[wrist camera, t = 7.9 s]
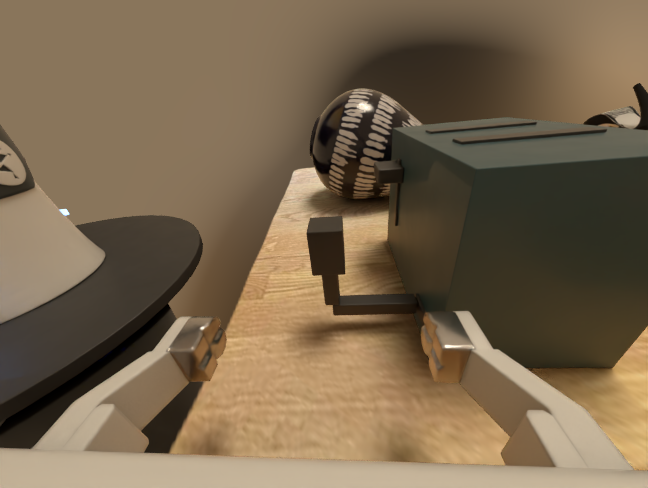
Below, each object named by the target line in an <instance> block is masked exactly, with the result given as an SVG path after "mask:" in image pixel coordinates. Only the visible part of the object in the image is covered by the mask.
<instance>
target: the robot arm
mask: <svg viewBox="0 0 648 488" xmlns="http://www.w3.org/2000/svg"><path fill="white" fill-rule="evenodd" d="M68 214H69V213H68V211H67V210H66V209H62V210H59V209H58V207H57V206H56V205H55V204H54V203H53V202H52V201H51V200H50V199H49V197H47V195H46V194H45V193H44V192H43V190H42V189H41V188H40V187H39V186H38V184H37V183H36V182H35V181H34V179H33V177H32V174H31V172H30V170H29V168H28V166H27V163H26V161H25V158H24V157H23V156H22V154H21V153H20V151H19V150H18V148H17V147H16V146H15V144H14V143H13V141H12V140H11V138H10V137H9V136H8V134H7V133H6V132H5V130H4V129H3V128H2V126H1V125H0V324H1V323H4V322H6V321H9V320H11V319H13V318H15V317H18V316H20V315H22V314H24V313H26V312H29V311H31V310H33V309H35V308H37V307H39V306H41V305H43V304H45V303H47V302H48V301H50V300H52V299H54V298H56V297H58V296H59V295H61V294H63V293H64V292H66V291H68V290H69V289H71V288H73V287H74V286H76V285H77V284H79V283H80V282H81V281H83V280H84V279H86V278H87V277H88V276H89V275H91V274H92V273H93V272H94V271H95V270H96V269H97V268H98V267H99V266H100V265H101V264H102V262H103V261H104V259H105V252H104V251H103V250H102V249H101V248H99V247H98V246H97V245H95V244H94V243H93V242H92V241H91V240H89V239H88V238H87V237H86V236H85V235H84V234H83V233H82V232H81V231H80V230H79V229H78V228H77V227H75V225H74V224H73V223H72V222H71V221H70V220H69V219H68V218H67V217H66V216H65V215H68ZM423 321H424V324H425V325H424V326H423V327H422V328H421V342H422V347H423V350H424V353H425V354H426V355H427V356H428V357H430V358H429V364H428V365H429V368H430V371H431V373H432V376H433V379H434V382H446V383H460V385H461V386H462V387H463V388H464V389H465V390H466V391H467V392H468V393H469V394H470V395H471V396H472V397H473V399H474V400H475V401H476V402H477V403H478V404H479V405H480V406H481V407H482V408H483V409H484V410H485V411H486V412H487V413H488V414H489V415H490V416H491V417H492V418H493V419H494V420H495V421H496V422H497V424H498V425H499V426H500V427H501V428H502V429H503V430H504V431H505V432H506V433H507V434H508V435H509V436H510V439H509V440H508V442H507V443H506V445H505V446H504V448H503V450H502V452H501V456H502V458H503V460H504V462H505V464H506V465H479V464H450V463H422V462H393V461H364V460H335V459H307V458H278V457H249V456H220V455H191V454H162V453H144V451H145V449H146V447H147V446H148V444H149V441H148V438H147V437H146V436H145V435H144V434H143V433H142V432H141V430H142V429H143V428H144V427H145V426H146V425H147V424H148V423H149V422H150V421H151V420H152V419H153V418H154V417H155V416H156V415H157V414H158V413H159V412H160V411H161V410H162V409H163V408H164V407H165V406H166V405H167V404H168V403H169V402H170V401H171V400H172V399H173V398H174V397H175V396H176V395H177V394H178V393H179V392H180V391H181V390H182V389H183V388H184V387H185V386H186V385H187V384H188V383H189V382H192V381H210V380H211V378H212V376H213V374H214V371H215V369H216V367H217V365H218V364H217V360H216V359H217V358H219V357H220V356H221V355H222V354H223V352H224V350H225V347H226V341H227V339H226V333H225V331H224V330H223V329H221V328H220V327H219V326H220V324H221V322H220V320H219V318H218V317H180V318H178V319H177V320H176V321H175V322H174V324H173V325H172V326H171V328H170V329H169V330H168V332H167V333H166V334H165V336H164V337H163V338H162V339H161V341H160V342H159V343H158V345H157V346H156V347H155V349H154V350H153V351H152V352H148V353H146V354H145V355H143V356H142V357H140V358H139V359H137V360H136V361H134V362H133V363H131V364H130V365H128V366H127V367H125V368H124V369H122V370H121V371H119V372H118V373H116V374H115V375H113V376H112V377H110V378H109V379H107V380H106V381H104V382H103V383H101V384H100V385H98V386H97V387H95V388H94V389H92V390H91V391H89V392H88V393H86V394H85V395H83V396H82V397H80V398H79V399H77V400H76V401H74V402H73V403H72V404H71V405H70V406H69V408H68V409H67V410H66V411H65V412H64V413H63V414H62V415H61V417H60V418H59V419H58V420H57V421H56V422H55V423H54V424H53V426H52V427H51V428H50V429H49V430H48V431H47V432H46V433H45V435H44V436H43V437H42V438H41V439H40V440H39V441H38V442H37V444H36V445H35V446H34V447H33V448H32V449H15V448H0V488H648V470H634V469H633V468H632V466H631V465H630V464H629V463H628V461H627V460H626V459H625V458H624V456H623V455H622V454H621V453H620V451H619V450H618V449H617V448H616V446H615V445H614V444H613V443H612V441H611V440H610V439H609V438H608V436H607V435H606V434H605V433H604V431H603V430H602V429H601V428H600V426H599V425H598V424H597V423H596V421H595V420H594V419H593V418H592V416H591V415H590V414H589V413H588V411H587V410H586V409H584V408H583V407H582V406H580V405H579V404H577V403H576V402H574V401H573V400H571V399H570V398H568V397H567V396H565V395H564V394H563V393H561V392H560V391H558V390H557V389H555V388H554V387H552V386H551V385H549V384H548V383H546V382H545V381H544V380H542V379H541V378H539V377H538V376H536V375H535V374H533V373H532V372H530V371H529V370H528V369H526V368H525V367H523V366H522V365H520V364H519V363H517V362H516V361H514V360H513V359H511V358H510V357H509V356H507V355H506V354H504V353H503V352H501V351H500V350H498V349H493V348H492V346H491V345H490V343H489V341H488V340H487V338H486V337H485V335H484V333H483V332H482V330H481V329H480V327H479V326H478V324H477V322H476V321H475V319H474V318H473V316H472V314H471V313H470V312H469V311H453V312H452V311H443V312H425V313H424V316H423Z"/></svg>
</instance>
